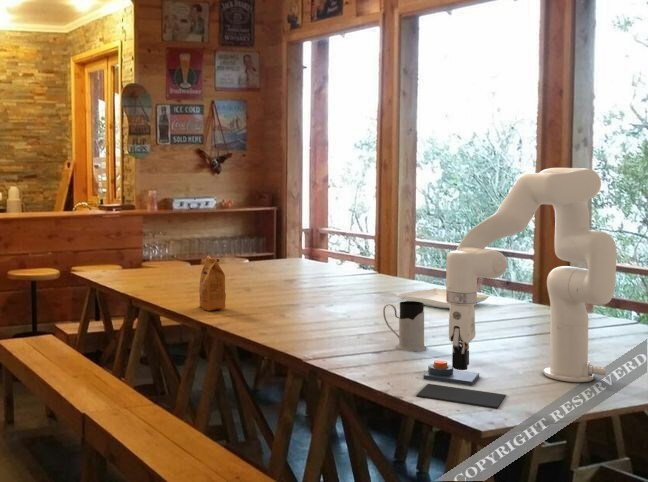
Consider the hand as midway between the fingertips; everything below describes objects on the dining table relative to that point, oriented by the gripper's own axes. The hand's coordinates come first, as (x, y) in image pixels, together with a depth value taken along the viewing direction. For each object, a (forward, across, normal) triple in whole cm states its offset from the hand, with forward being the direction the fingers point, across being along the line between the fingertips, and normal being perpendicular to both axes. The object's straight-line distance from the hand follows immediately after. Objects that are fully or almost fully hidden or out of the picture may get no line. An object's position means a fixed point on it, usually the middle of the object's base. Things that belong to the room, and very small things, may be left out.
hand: (460, 365), depth 209 cm
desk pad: (+8, 0, 0) cm, 8 cm away
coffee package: (+8, +73, +116) cm, 137 cm away
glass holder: (+8, +46, +28) cm, 55 cm away
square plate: (+8, +129, +35) cm, 134 cm away
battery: (+1, 0, 0) cm, 1 cm away
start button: (+6, +16, +9) cm, 19 cm away
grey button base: (+8, +16, +6) cm, 19 cm away
